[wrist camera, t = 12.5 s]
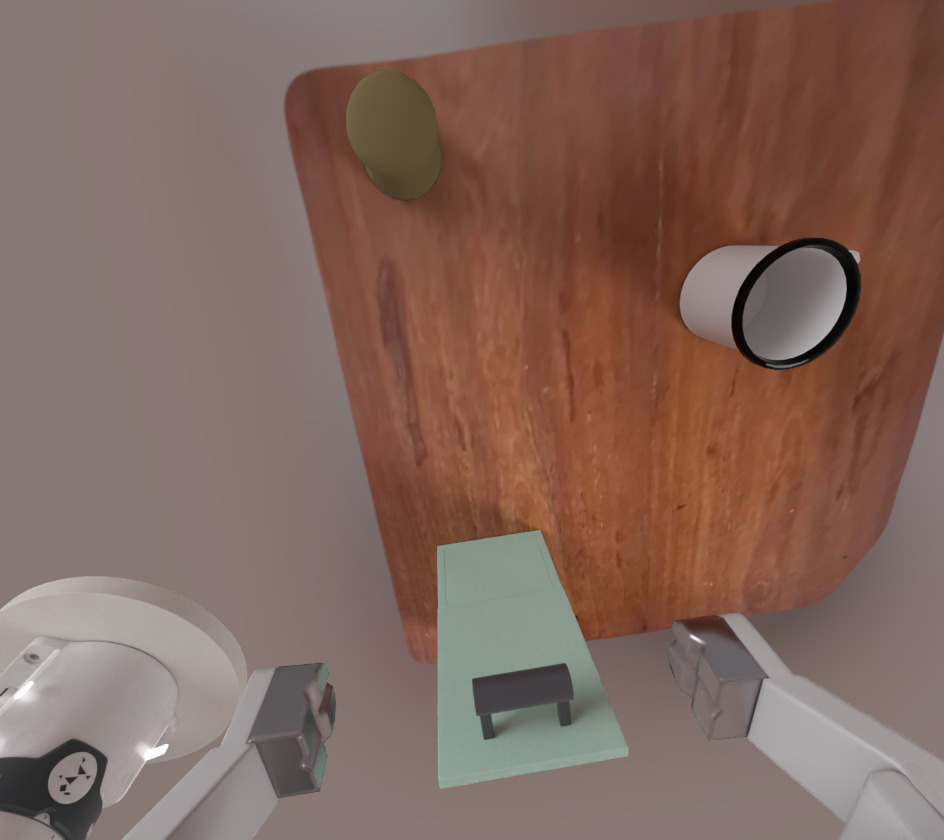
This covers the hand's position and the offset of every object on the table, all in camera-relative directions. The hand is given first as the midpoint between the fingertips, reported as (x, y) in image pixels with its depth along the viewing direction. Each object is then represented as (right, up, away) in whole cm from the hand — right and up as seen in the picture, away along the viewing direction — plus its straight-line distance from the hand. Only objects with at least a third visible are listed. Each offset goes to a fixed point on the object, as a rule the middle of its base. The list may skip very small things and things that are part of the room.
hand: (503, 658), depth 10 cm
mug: (+23, +18, +30) cm, 42 cm away
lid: (+3, -14, +23) cm, 27 cm away
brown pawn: (-6, +26, +24) cm, 36 cm away
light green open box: (+2, -14, +40) cm, 43 cm away
